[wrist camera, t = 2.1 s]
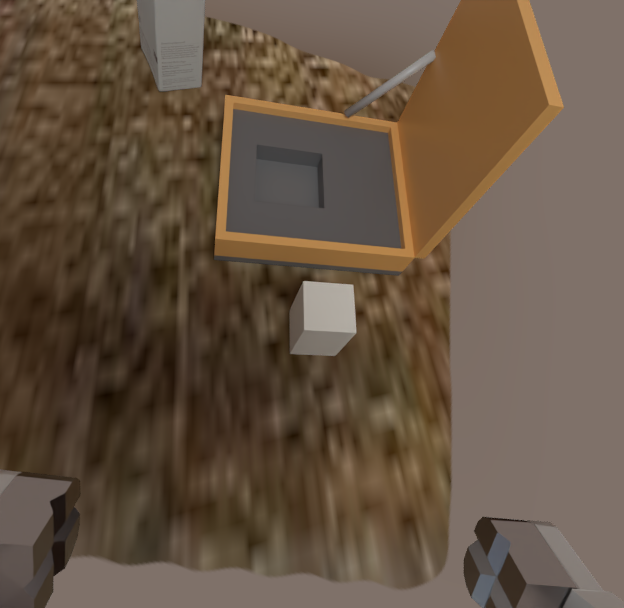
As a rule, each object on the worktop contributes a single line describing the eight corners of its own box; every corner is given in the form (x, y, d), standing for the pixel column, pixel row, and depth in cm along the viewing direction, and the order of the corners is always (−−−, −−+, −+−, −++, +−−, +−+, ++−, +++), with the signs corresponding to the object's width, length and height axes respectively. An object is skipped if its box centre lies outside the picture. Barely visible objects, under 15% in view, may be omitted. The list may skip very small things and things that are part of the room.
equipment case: (214, 259, 50) (226, 45, 27) (223, 122, 58) (239, -137, 35) (408, 276, 55) (563, 107, 32) (392, 147, 63) (508, -65, 39)
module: (289, 353, 48) (304, 330, 41) (289, 308, 50) (303, 279, 43) (335, 355, 49) (356, 333, 42) (333, 311, 51) (353, 283, 44)
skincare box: (140, 48, 60) (123, -80, 47) (185, 44, 62) (181, -80, 49) (160, 95, 58) (148, -26, 44) (206, 89, 60) (207, -29, 47)
